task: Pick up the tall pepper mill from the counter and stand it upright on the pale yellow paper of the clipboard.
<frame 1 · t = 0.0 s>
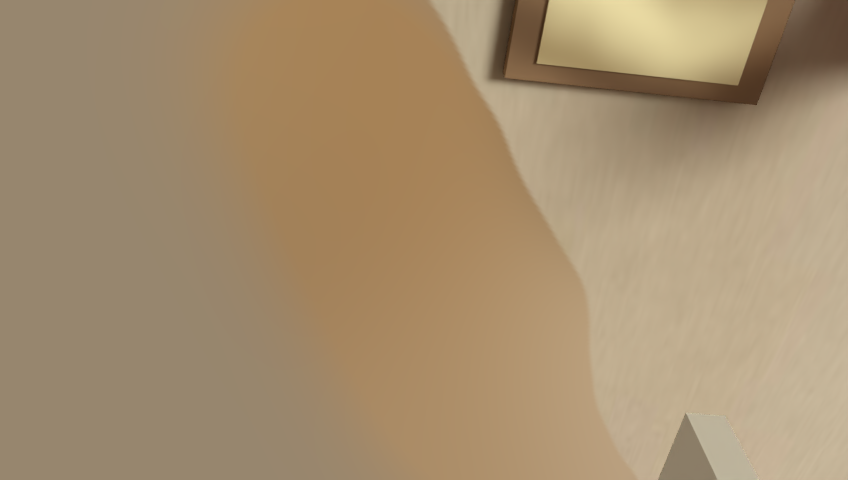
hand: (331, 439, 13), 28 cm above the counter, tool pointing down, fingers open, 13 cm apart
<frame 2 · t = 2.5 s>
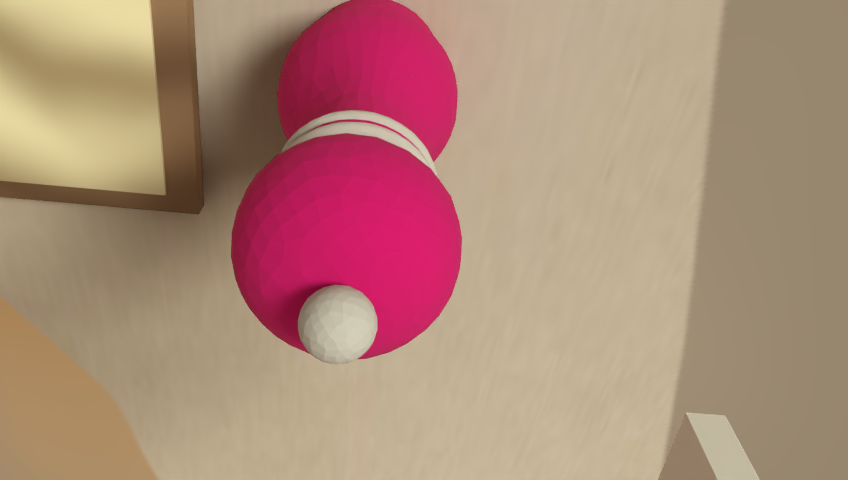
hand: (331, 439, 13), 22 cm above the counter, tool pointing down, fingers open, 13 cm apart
pepper mill: (373, 65, 32), on the counter
clipboard: (34, 31, 31), on the counter
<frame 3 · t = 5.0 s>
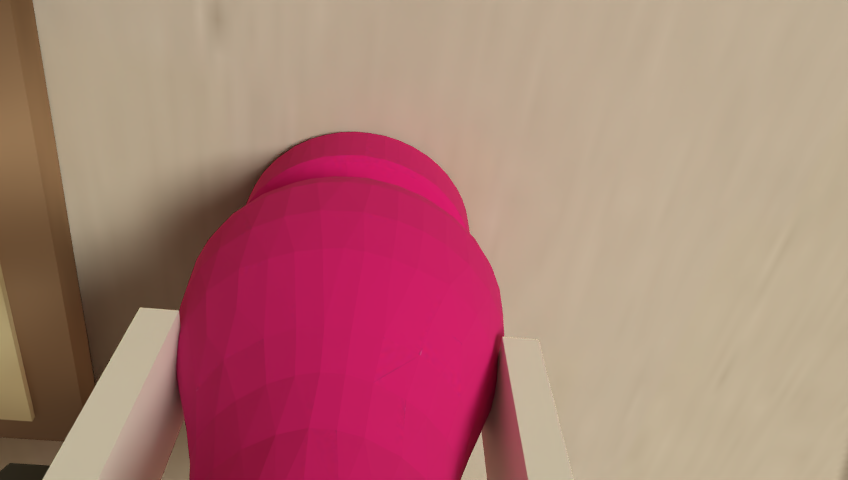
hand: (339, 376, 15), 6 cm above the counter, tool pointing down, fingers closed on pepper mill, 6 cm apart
pepper mill: (358, 229, 20), on the counter, touching gripper
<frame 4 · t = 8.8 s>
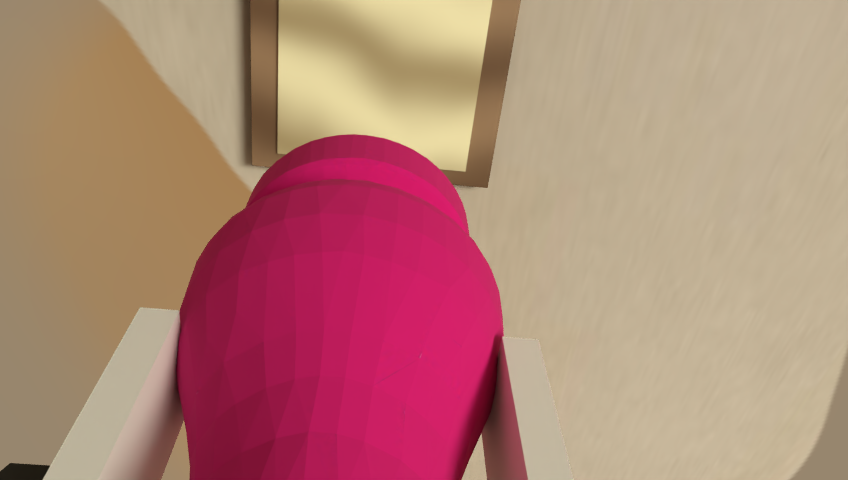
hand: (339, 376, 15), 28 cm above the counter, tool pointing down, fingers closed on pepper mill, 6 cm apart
pepper mill: (358, 231, 20), point 21 cm above the counter, touching gripper
clipboard: (383, 37, 38), on the counter
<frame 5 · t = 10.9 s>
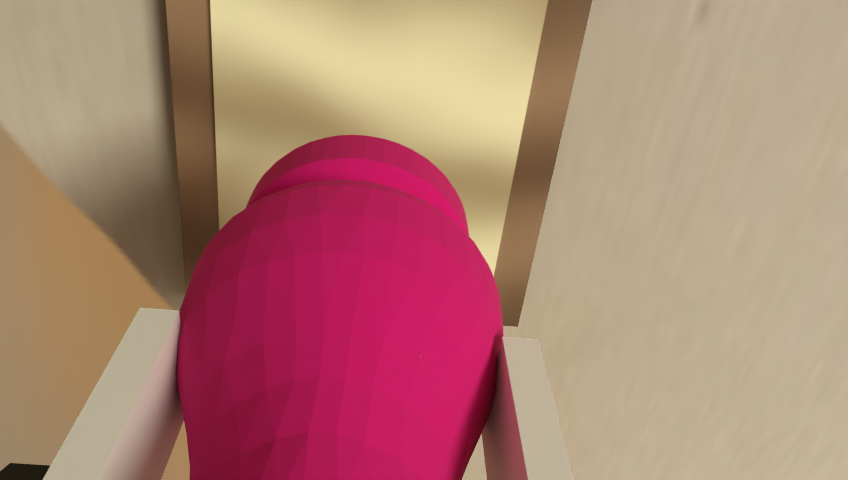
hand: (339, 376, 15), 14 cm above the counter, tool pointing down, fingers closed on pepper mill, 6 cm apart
pepper mill: (358, 232, 20), point 8 cm above the counter, touching gripper
clipboard: (370, 127, 26), on the counter
when the fingers open (9 cm above the counter, at t = 12.8 s): pepper mill drops 1 cm, resting on clipboard.
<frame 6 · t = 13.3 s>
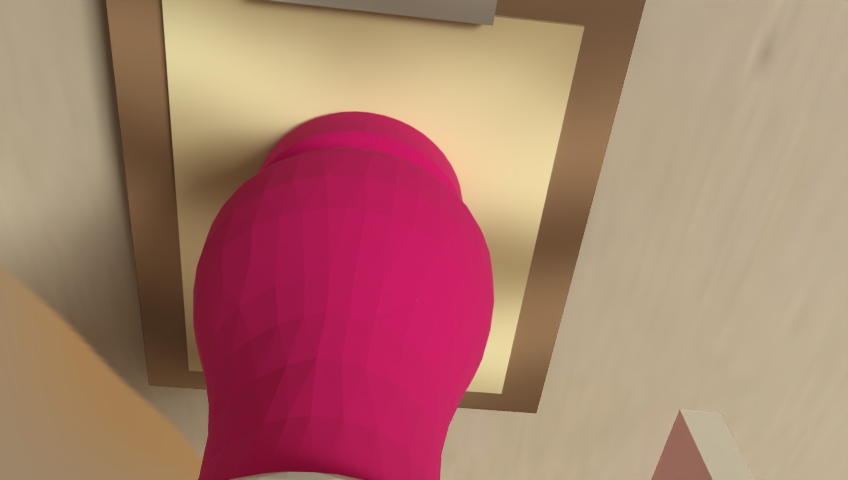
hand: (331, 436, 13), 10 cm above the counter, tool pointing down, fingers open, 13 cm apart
pepper mill: (359, 205, 21), point 1 cm above the counter, touching clipboard
clipboard: (363, 189, 22), on the counter
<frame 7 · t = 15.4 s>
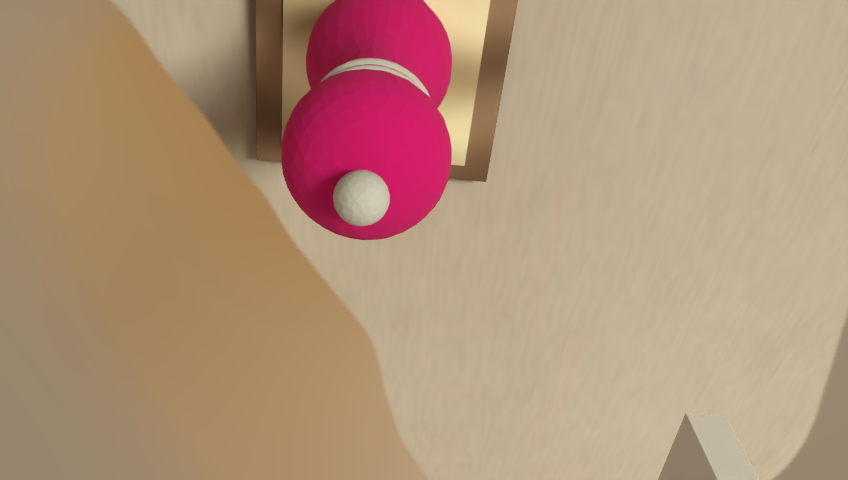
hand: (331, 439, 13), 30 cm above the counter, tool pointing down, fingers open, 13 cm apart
pepper mill: (382, 39, 39), point 1 cm above the counter, touching clipboard
clipboard: (384, 34, 39), on the counter
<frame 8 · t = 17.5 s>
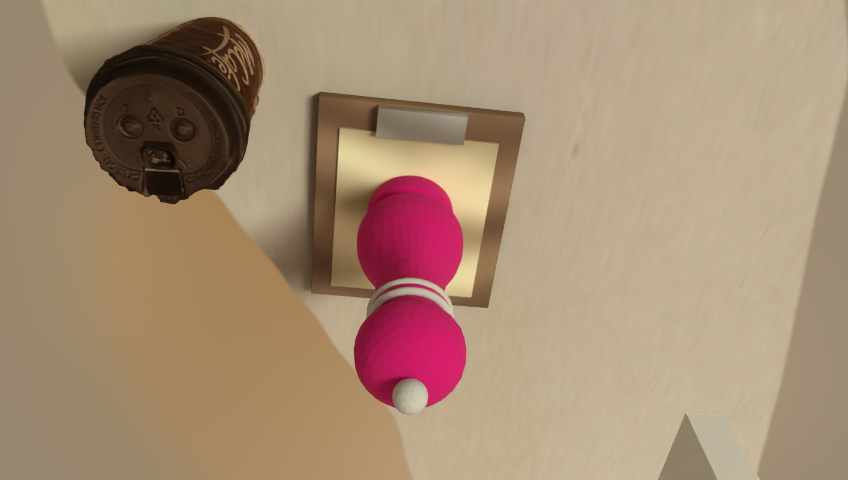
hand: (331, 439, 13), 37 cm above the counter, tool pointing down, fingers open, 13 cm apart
pepper mill: (410, 211, 51), point 1 cm above the counter, touching clipboard
clipboard: (410, 205, 52), on the counter
coffee cup: (216, 65, 47), on the counter
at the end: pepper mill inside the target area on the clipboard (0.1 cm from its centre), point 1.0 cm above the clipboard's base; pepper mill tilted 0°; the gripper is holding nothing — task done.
